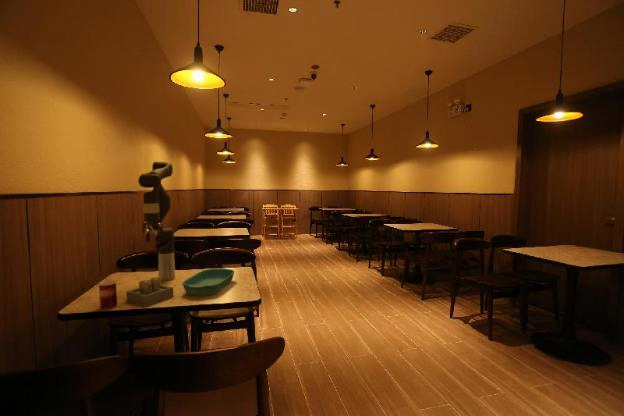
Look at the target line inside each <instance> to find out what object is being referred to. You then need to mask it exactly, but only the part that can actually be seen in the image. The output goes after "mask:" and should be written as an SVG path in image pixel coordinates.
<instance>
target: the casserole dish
mask: <svg viewBox="0 0 624 416" xmlns="http://www.w3.org/2000/svg"><path fill="white" fill-rule="evenodd" d="M234 274H235V270H234V269H230V268H224V267H222V268H221V267H220V268H219V267H217V268H207V269H204V270H201V271H199V272H197V273H195V274H193V275H191V276H190V277H188V278H187V279H185V280H184V281H182V282H181V284H182V287H183V289H184V291H185V293H186V294H187V295H188V296H189V295H191V296H213V295H216V294H218V293H219V292H221V290H223V289H224V288H225V287H227V286H228V285H229V284H230V283H231V282H232V280H233V277H234Z"/></svg>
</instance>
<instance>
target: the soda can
mask: <svg viewBox="0 0 624 416" xmlns="http://www.w3.org/2000/svg"><path fill="white" fill-rule="evenodd" d="M117 293H118V292H117V283H116V281H111V280H110V281H104V282H101V283H100V284H99V285H98V294H99V308H100V309H101V308H102V309H101V310H110V309H113V307H114V308H116V307H117V305H118V294H117ZM109 308H110V309H109Z"/></svg>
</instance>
